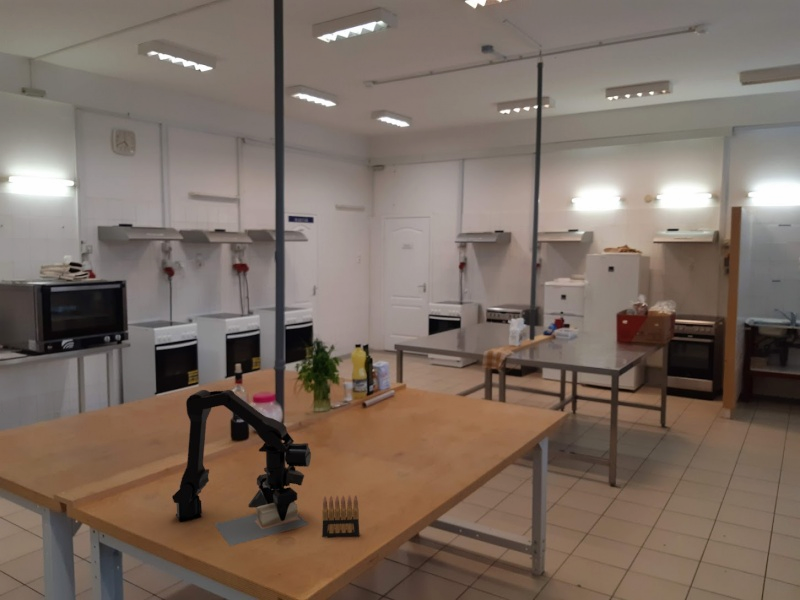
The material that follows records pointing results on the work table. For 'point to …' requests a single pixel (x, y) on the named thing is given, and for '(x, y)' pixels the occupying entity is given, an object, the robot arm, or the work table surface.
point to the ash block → (274, 514)
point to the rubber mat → (253, 528)
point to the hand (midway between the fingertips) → (277, 514)
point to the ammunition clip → (340, 518)
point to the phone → (257, 500)
